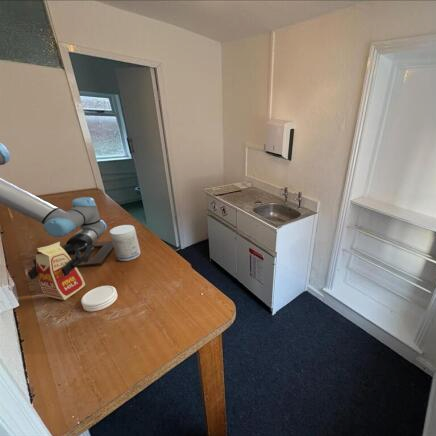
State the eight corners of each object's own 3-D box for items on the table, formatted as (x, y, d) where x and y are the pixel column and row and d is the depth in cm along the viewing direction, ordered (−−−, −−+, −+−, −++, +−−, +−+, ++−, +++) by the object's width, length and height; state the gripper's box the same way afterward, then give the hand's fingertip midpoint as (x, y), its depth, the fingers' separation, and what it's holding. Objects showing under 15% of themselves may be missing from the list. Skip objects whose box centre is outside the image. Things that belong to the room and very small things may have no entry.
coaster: (107, 312, 81) (104, 304, 79) (76, 312, 80) (72, 304, 78) (123, 291, 90) (121, 284, 88) (96, 292, 89) (93, 284, 87)
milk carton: (64, 300, 83) (41, 253, 75) (43, 296, 84) (17, 249, 76) (88, 283, 91) (70, 239, 83) (68, 280, 93) (48, 236, 84)
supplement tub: (120, 252, 114) (113, 225, 107) (143, 249, 117) (136, 223, 110) (114, 263, 105) (105, 235, 99) (138, 260, 108) (131, 233, 102)
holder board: (40, 271, 97) (38, 268, 97) (67, 246, 115) (66, 244, 114) (101, 265, 103) (100, 262, 103) (118, 243, 121) (118, 240, 120)
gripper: (113, 246, 103) (88, 278, 83) (54, 250, 97) (12, 286, 78) (109, 231, 100) (81, 261, 80) (47, 235, 94) (2, 268, 75)
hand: (47, 274), depth 79 cm, fingers closed on milk carton, 8 cm apart
